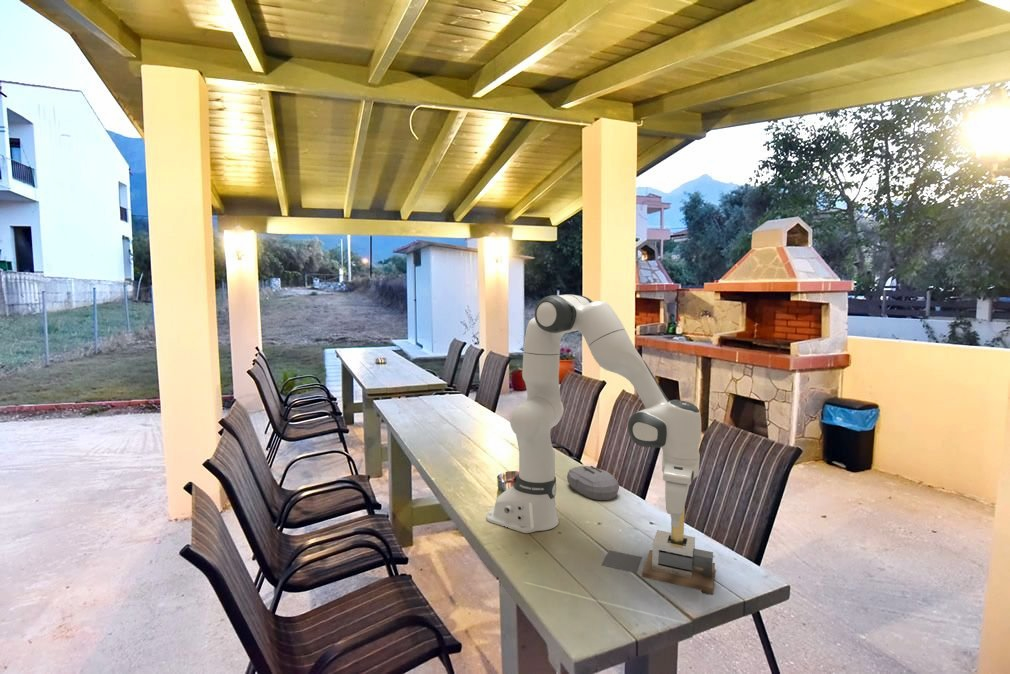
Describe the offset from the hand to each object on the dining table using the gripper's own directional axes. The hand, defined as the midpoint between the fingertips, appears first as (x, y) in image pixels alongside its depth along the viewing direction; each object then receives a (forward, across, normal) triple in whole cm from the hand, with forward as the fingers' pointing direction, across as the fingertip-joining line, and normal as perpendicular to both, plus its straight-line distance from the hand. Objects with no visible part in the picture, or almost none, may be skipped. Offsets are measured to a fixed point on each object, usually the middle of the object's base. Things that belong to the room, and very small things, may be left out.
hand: (677, 518), depth 133 cm
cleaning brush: (+15, -46, -32) cm, 58 cm away
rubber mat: (+14, +1, -13) cm, 19 cm away
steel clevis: (+13, 0, +2) cm, 13 cm away
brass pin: (+13, 0, 0) cm, 13 cm away
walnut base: (+14, 0, 0) cm, 14 cm away
